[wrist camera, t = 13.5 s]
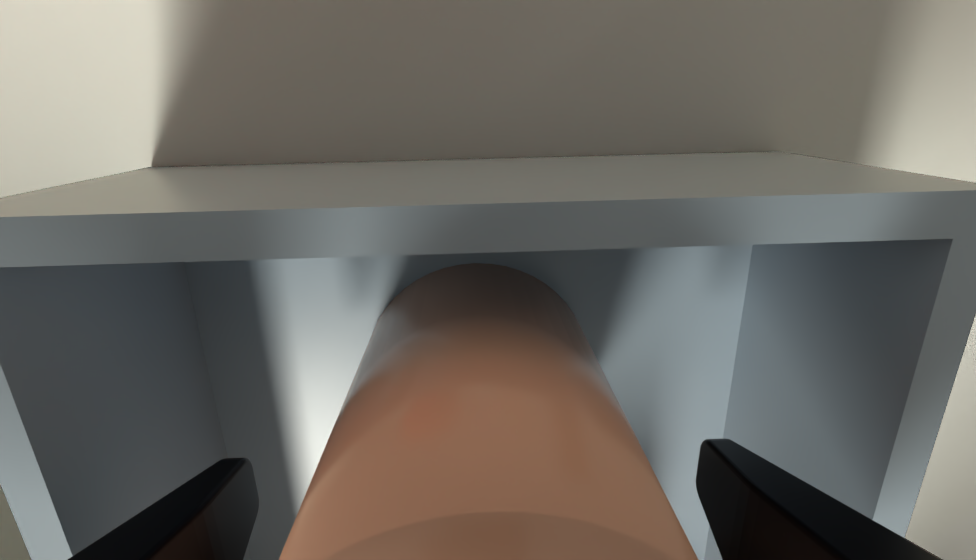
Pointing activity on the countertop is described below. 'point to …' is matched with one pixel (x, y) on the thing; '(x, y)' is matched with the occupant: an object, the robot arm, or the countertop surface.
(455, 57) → the countertop surface
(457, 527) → the cylinder
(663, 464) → the box
